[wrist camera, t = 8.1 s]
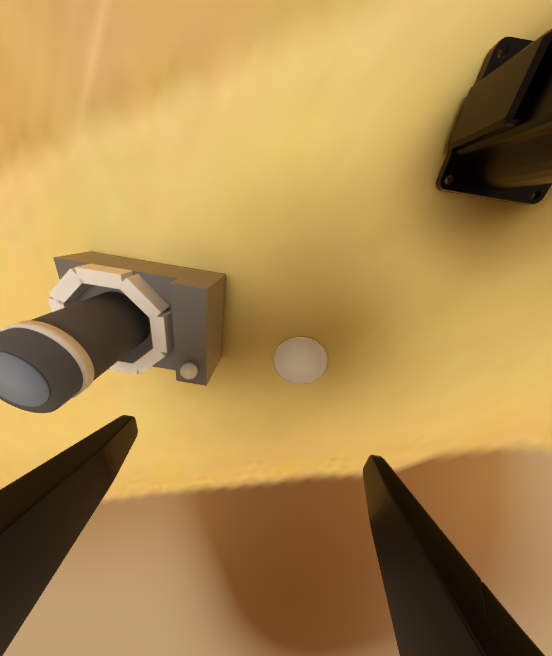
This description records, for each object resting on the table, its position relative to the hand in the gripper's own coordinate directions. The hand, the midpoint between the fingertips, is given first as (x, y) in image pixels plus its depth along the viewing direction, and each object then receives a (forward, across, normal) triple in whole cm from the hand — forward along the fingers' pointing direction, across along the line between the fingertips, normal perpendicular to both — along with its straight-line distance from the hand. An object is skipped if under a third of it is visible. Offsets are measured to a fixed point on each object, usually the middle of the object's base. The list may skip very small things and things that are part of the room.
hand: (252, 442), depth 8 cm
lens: (+9, +11, +1) cm, 15 cm away
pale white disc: (+12, -3, +4) cm, 13 cm away
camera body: (+12, +10, +1) cm, 16 cm away
